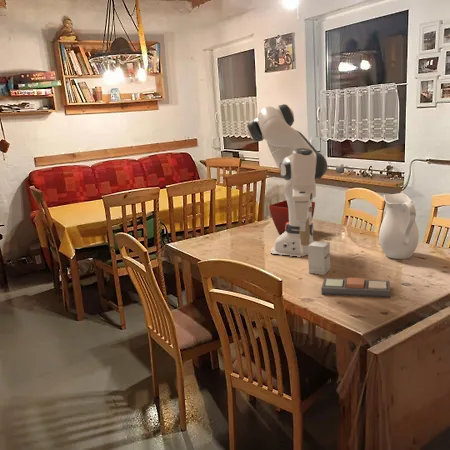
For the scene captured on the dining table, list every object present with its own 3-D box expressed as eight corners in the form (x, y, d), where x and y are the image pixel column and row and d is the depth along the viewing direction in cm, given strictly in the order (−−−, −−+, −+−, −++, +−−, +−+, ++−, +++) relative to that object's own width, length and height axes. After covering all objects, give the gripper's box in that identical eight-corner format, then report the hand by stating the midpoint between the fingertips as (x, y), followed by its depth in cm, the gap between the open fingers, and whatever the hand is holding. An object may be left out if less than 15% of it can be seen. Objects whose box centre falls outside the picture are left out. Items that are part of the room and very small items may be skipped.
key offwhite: (368, 292, 174) (368, 287, 173) (368, 286, 179) (368, 280, 179) (386, 293, 172) (386, 288, 171) (386, 286, 177) (386, 281, 177)
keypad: (321, 294, 177) (321, 288, 177) (324, 284, 187) (324, 278, 186) (389, 297, 170) (390, 291, 169) (389, 287, 179) (389, 280, 178)
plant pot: (269, 233, 265) (267, 205, 260) (290, 226, 277) (289, 198, 273) (295, 239, 251) (294, 208, 247) (316, 230, 263) (316, 201, 259)
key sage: (325, 290, 179) (325, 285, 178) (326, 284, 184) (326, 279, 184) (342, 291, 177) (342, 286, 176) (343, 285, 182) (343, 279, 182)
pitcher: (374, 250, 222) (374, 194, 215) (410, 248, 221) (411, 191, 214) (390, 268, 198) (391, 204, 192) (430, 265, 198) (432, 202, 191)
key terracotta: (346, 289, 176) (346, 283, 175) (347, 282, 182) (347, 277, 181) (364, 289, 174) (363, 284, 173) (364, 283, 180) (364, 278, 179)
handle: (294, 244, 183) (293, 208, 179) (308, 241, 185) (307, 205, 181) (301, 248, 179) (300, 210, 175) (315, 244, 181) (314, 208, 177)
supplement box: (324, 275, 196) (324, 247, 193) (308, 273, 200) (307, 245, 197) (330, 269, 202) (330, 242, 199) (314, 267, 206) (313, 240, 203)
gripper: (299, 187, 185) (299, 220, 188) (291, 198, 166) (292, 234, 169) (315, 186, 183) (315, 220, 186) (309, 197, 164) (310, 235, 167)
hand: (304, 227), depth 178 cm, fingers open, 8 cm apart
